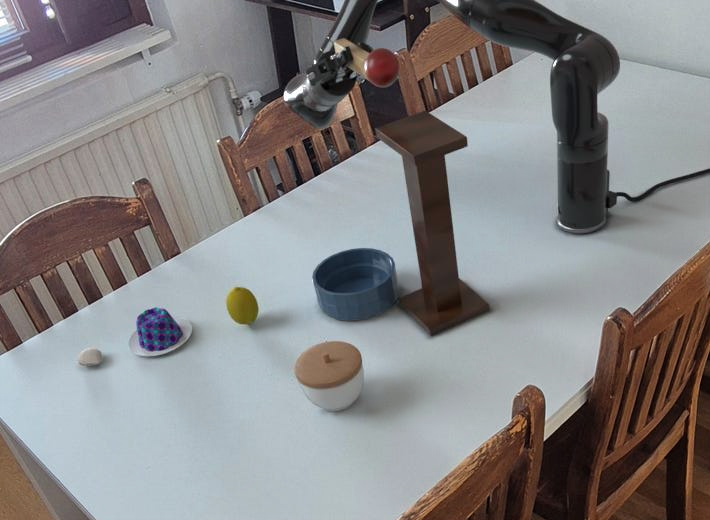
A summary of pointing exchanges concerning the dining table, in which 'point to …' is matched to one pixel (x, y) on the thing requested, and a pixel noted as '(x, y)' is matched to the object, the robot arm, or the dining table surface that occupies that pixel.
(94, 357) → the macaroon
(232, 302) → the lemon
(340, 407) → the trinket box
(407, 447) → the dining table surface
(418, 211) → the plant stand
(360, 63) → the mallet
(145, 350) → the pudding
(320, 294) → the bowl
